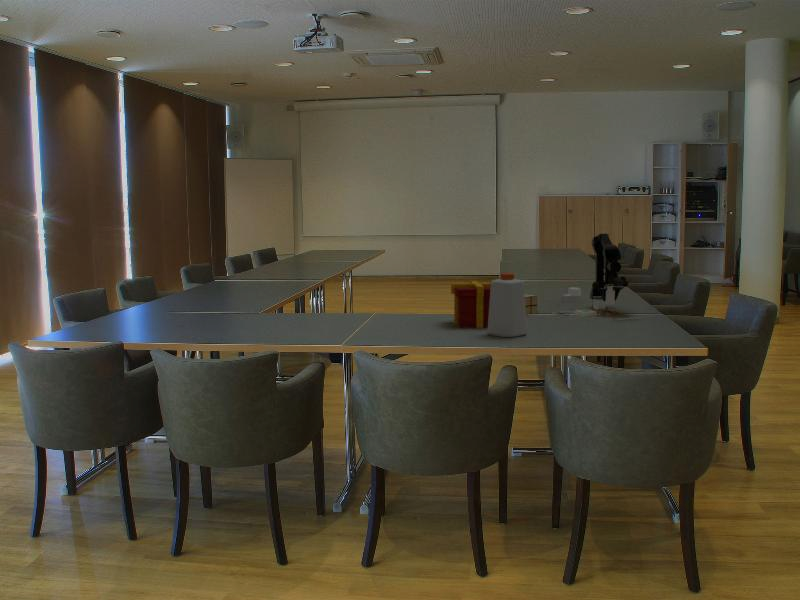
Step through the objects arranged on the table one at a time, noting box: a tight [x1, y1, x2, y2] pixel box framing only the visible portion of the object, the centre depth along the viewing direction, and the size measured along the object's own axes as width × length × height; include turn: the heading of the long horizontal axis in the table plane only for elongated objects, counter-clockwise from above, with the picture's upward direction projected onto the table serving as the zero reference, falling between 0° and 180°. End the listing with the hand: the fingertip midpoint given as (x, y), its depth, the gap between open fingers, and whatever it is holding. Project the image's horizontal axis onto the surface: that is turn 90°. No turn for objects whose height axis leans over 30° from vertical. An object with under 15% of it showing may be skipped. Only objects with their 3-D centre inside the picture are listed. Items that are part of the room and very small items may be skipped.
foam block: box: [561, 286, 583, 303], centre depth 474 cm, size 10×10×8 cm
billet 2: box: [605, 289, 615, 305], centre depth 411 cm, size 4×4×7 cm
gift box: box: [450, 280, 491, 329], centre depth 392 cm, size 25×25×20 cm
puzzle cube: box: [525, 293, 538, 315], centre depth 426 cm, size 10×10×10 cm
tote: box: [550, 310, 575, 317], centre depth 419 cm, size 11×11×1 cm
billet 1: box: [592, 299, 606, 311], centre depth 420 cm, size 4×4×7 cm
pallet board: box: [588, 308, 622, 317], centre depth 416 cm, size 18×10×3 cm, turn 22°
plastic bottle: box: [486, 272, 528, 339], centre depth 362 cm, size 15×15×28 cm
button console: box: [574, 309, 598, 317], centre depth 413 cm, size 8×8×3 cm
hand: (609, 300), depth 412 cm, fingers closed on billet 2, 6 cm apart
